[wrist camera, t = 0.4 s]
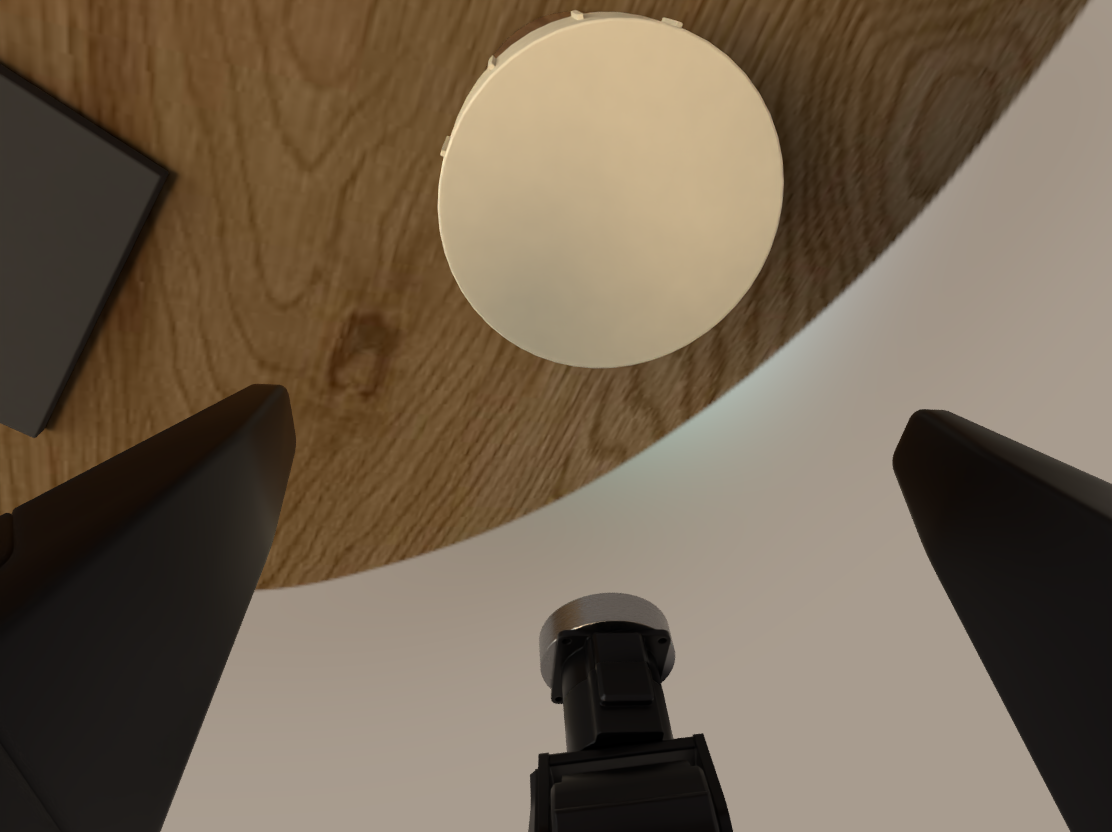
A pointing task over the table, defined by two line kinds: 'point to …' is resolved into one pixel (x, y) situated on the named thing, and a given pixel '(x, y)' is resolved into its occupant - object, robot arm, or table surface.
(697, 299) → the lid
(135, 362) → the table surface
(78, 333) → the mat
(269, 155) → the table surface
